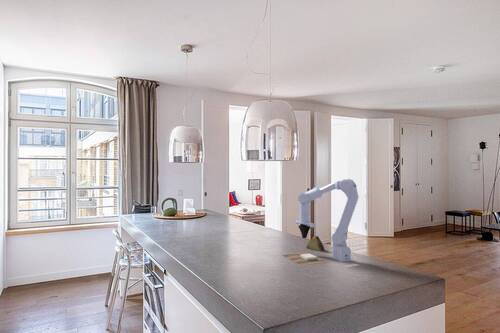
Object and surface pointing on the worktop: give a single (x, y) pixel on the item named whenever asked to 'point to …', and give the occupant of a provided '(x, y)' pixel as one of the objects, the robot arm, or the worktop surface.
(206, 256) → the worktop surface
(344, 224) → the robot arm
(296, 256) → the board
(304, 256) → the tile
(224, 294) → the worktop surface
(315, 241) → the rock
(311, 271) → the worktop surface
